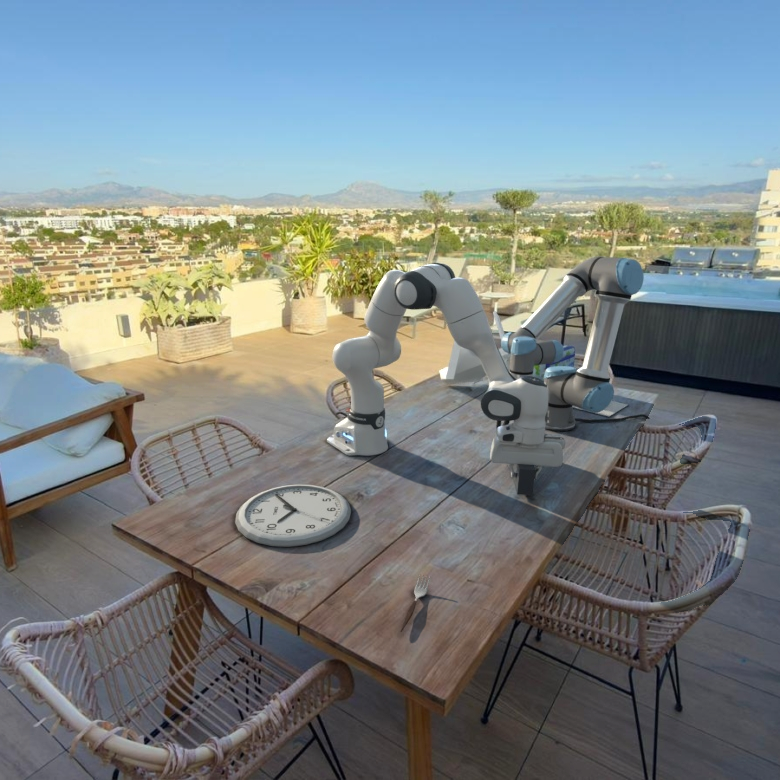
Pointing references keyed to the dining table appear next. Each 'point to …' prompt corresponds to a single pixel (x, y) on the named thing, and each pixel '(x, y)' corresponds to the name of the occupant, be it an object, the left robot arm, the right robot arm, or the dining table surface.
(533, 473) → the beam
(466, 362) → the white plastic object
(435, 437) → the dining table surface
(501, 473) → the dining table surface
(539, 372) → the lunch box
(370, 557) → the dining table surface
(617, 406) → the invitation card
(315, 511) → the wall clock
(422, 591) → the fork
